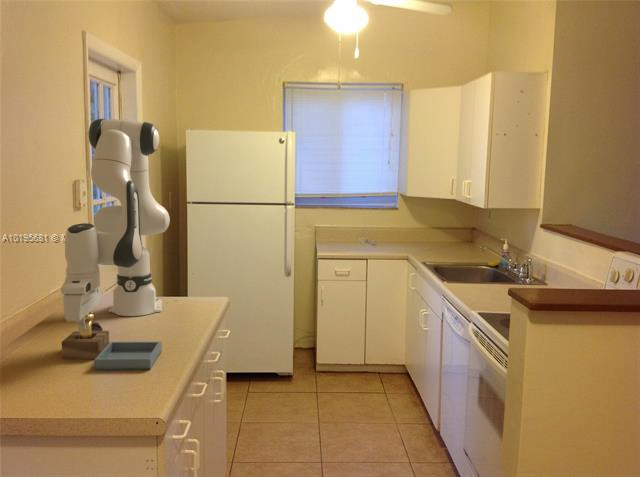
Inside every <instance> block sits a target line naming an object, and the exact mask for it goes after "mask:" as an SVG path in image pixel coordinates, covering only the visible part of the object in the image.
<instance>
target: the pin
mask: <svg viewBox="0 0 640 477" xmlns="http://www.w3.org/2000/svg"><path fill="white" fill-rule="evenodd" d="M94 318H95V313H94V312H93V313H92V312H90V313H89V314H88V315H86V316H85V324H86V325H87V326H86V327H87V329H86V330H85V331H80V339H92V331H91V319H92V320H93V319H94Z"/></svg>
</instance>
